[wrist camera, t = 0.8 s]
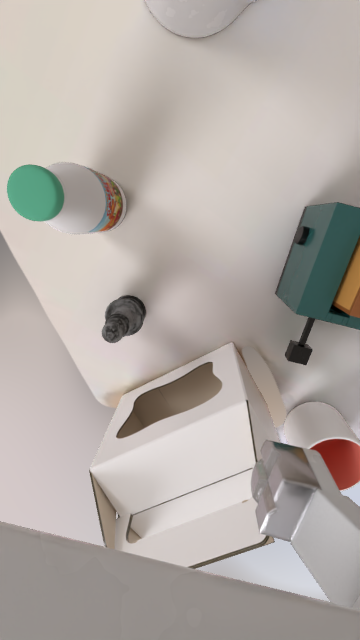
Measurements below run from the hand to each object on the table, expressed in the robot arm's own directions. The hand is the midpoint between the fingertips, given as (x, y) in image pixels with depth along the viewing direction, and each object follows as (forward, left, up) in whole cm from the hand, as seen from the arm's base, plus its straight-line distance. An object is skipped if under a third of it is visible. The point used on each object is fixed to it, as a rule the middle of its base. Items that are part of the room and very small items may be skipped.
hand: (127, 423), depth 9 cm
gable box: (+23, +7, -40) cm, 47 cm away
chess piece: (+10, -7, -40) cm, 42 cm away
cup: (+22, +28, -40) cm, 54 cm away
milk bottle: (-5, -14, -40) cm, 43 cm away
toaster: (-5, +19, -40) cm, 45 cm away
